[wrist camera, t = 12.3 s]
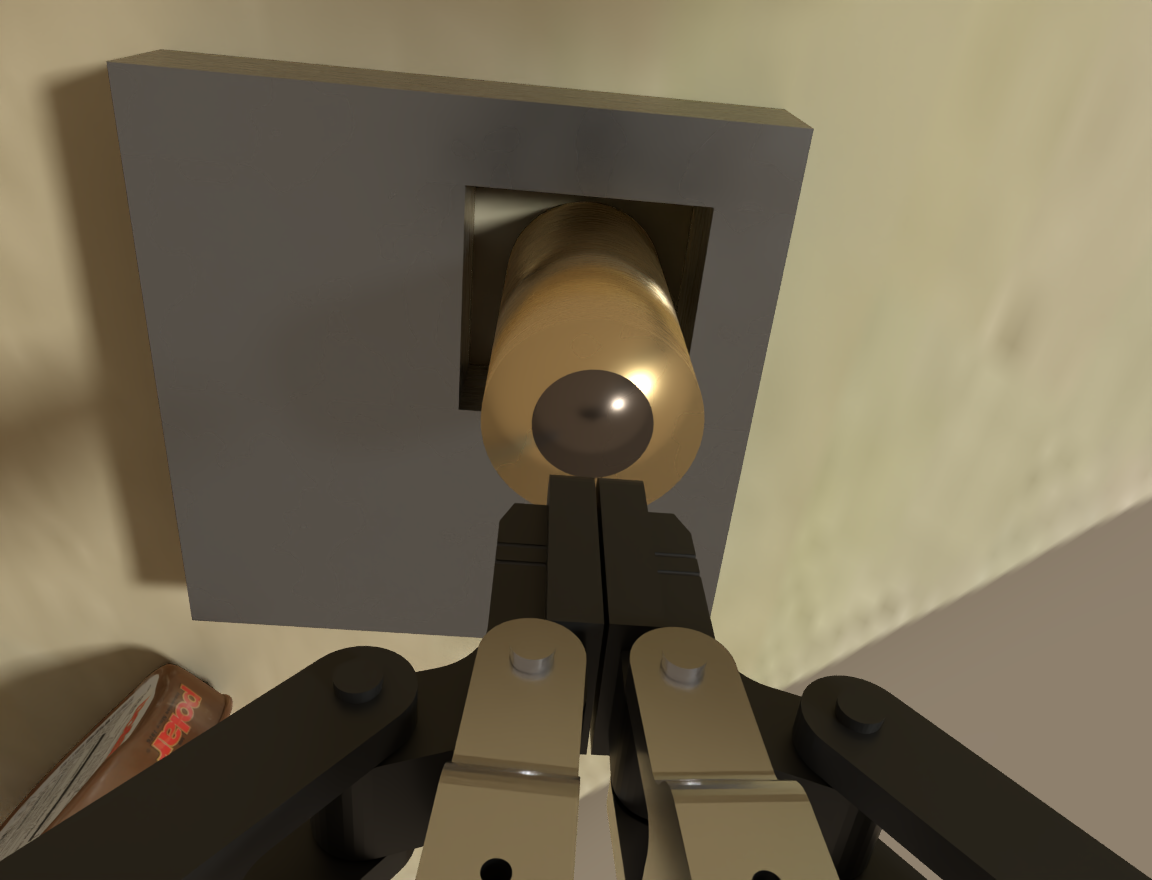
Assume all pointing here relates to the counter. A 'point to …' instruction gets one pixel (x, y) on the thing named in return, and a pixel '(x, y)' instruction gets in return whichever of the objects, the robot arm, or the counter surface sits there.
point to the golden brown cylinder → (589, 360)
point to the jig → (402, 314)
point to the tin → (118, 750)
